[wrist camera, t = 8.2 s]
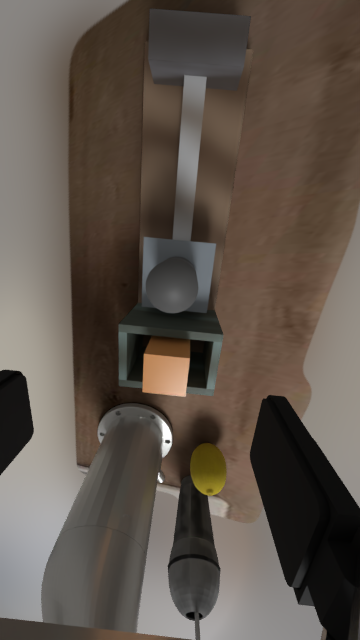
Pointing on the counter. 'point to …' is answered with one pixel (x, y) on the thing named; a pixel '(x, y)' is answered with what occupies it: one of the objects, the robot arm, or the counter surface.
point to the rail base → (208, 171)
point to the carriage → (177, 274)
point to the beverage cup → (193, 557)
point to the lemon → (208, 469)
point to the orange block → (166, 366)
